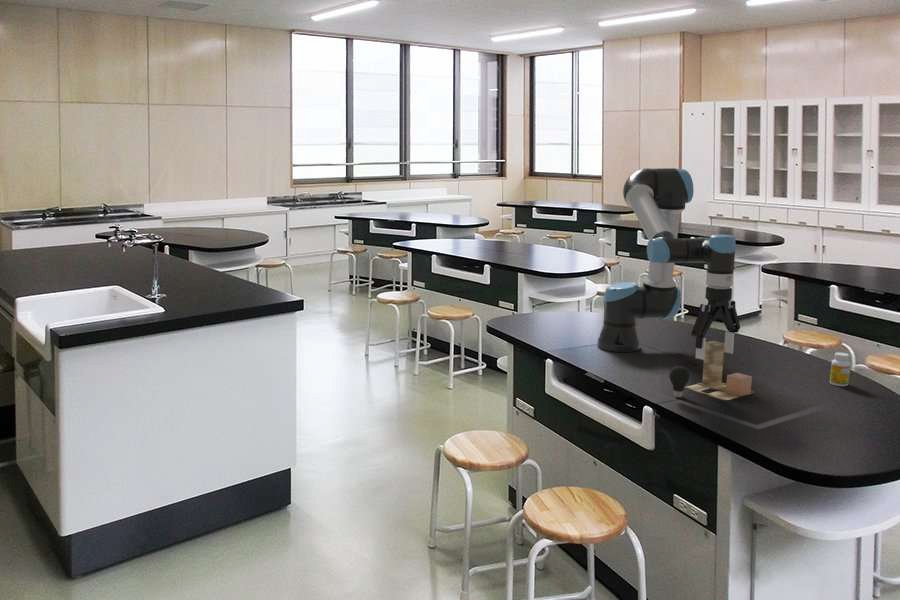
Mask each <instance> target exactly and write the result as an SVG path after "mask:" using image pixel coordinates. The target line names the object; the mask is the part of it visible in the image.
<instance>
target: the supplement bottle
mask: <svg viewBox="0 0 900 600" xmlns="http://www.w3.org/2000/svg"><path fill="white" fill-rule="evenodd" d="M849 359H850V353H846V352H835V354H834V359H832V360H831V365H830V374H829V384H830V385H833V386H837V387H846V386H848V385H849V381H850V373H851V361H849Z"/></svg>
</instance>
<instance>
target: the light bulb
mask: <svg viewBox="0 0 900 600" xmlns="http://www.w3.org/2000/svg"><path fill="white" fill-rule="evenodd" d="M669 380H670V383H671V384H672V388H673V397H675V398H676V400H680V398H682V397H683V393H684V390H685V388H684V387H686V385H687V384H688V382H689V380H690V371H689V370H688V369H687V368H686V367H685V366H683V365H676V366H673V367H672V369H671V370H670V372H669Z"/></svg>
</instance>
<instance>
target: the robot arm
mask: <svg viewBox="0 0 900 600" xmlns="http://www.w3.org/2000/svg"><path fill="white" fill-rule="evenodd" d="M624 182H625V183H624V186H623V190H622V193H623V195H622V196H623V199H624V201H625V203H626V205H627V207H629V208H630V209H631V210H632V211H633V213H634V214H635V216H636V218H637V220H638V222H639V224H640V226H641V228H642V230H643V232H644V234H645V236H646V238H647V240H648V241H647V245H646V254H647V259H648V260H649V266H648V274H647V275H648V276H647V277H646V278H644V279H643V281H642V282H643V283H642V286H640V285H639V284H638V283H637V282H632V281H631V282H627V281H626V282H625V281H624V282H623V281H622V282H616V283H612V284H609V285H607V287H606V288H605V291H604V297H603V300H604V306H603V307H604V308H603V322H602V323H603V325H602V328H601V331H600V333H599V337H598V338H597V347H598V348H599V349H601V350H604V351H607V352H613V353H614V352H616V353H631V352H637V351H640V349H641V341H640V340H639V333H638V330H637V320H652V319H653V320H654V319H656V320H657V319H658V320H665V319H672V318H674V317H675V316H676V315H677V314H678V312H679V311H680V308H681V304H682V296H681V295H682V291H681V289H680V288H679V287H678V286H677V282H676V281H675V280H674V273H675V272H674V270H675V264H677V263H678V264H679V263H680V264H683V263H684V264H685V263H686V264H690V263H691V264H693V263H694V264H696V263H697V264H698V263H699V264H701V263H703V264H707V270H706V280H705V284H706V287H705V297H704V298H705V299H706V300H707V304H705V303H701V304H700V305H699V312H698V313H697V314H698V315H697V317H696V319H695V321H694V324H693V328H692V330H691V333H690V334H691V336H692V337H695V359H699V360H702V361H704V359H705V344H706V342H707V341H706V340H707V338H706V337H705V336H706V335H707V333H708V330H709V329H710V327H711V326H712V324H713V322H714V321H715V320H716V319H719V318H720V319H721V320H722V323H723V324H724V326H725V328H726V331H725V334H724V343H725V345H724V353H727V354H730V355H731V354H732V355H733V354H734V346H735V345H734V343H735V335H736V334H737V333H739V331H740V328H741V324H740V320H739V317H738V313H737V309H736V301H735V300H732V299H733V288H732V287H733V284H734V283H733V282H734V281H733V279H734V270H735V269H734V268H735V261H736V260H735V258H736V251H737V248H736V237H735V236H734V235H731V234H729V235H728V234H711V235H710V237H707V236H705V237H704V236H701V237H700V236H699V237H695V238H694V237H693V238H683V237H682V238H679V237H678V234H679V225H680V216H681V215H680V214H681V213H682V212H684V210H685V209H686V204H689V203H690V202H691V201H692V200H693V198H694V182H693V178H692V176H691V174H690V172H689V171H688V170H686V169H684V168H675V167H673V168H671V167H670V168H669V167H667V168H658V167H657V168H648V167H647V168H645V167H644V168H641V169H638V170H636V171H634V172H633V173H631V174H630V175H629V176H628V178H627V179H626V181H624Z"/></svg>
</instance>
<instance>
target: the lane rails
mask: <svg viewBox="0 0 900 600" xmlns="http://www.w3.org/2000/svg"><path fill="white" fill-rule="evenodd" d="M701 383H702V382H697V383H696V384H698V385H701V386H704V387H707V388H710V389H712V390H715V391H720V392H724V393H727V394H730V395H734V396H737V398H740V397H742V396H740V395H737V394H734V393H730V392H727V391H724V390H721V389H717V388H714V387H711V386H707V385H704V384H701ZM721 384H723V385H726V384H727V382H726V383H725V382H722V383H721ZM684 389H687V390H689V391H693V392H696V393H700V394H703V395H704V396H709V397H713V398H715V399H719V400H722V401H725V402H727V401H728V400H727V399H724V398H721V397H717V396H714V395H711V394H708V392H704V391H698V390H695V389H692V388H689V387H687V386H685V387H684ZM751 393H752V394H755V391H752V390H751Z"/></svg>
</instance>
